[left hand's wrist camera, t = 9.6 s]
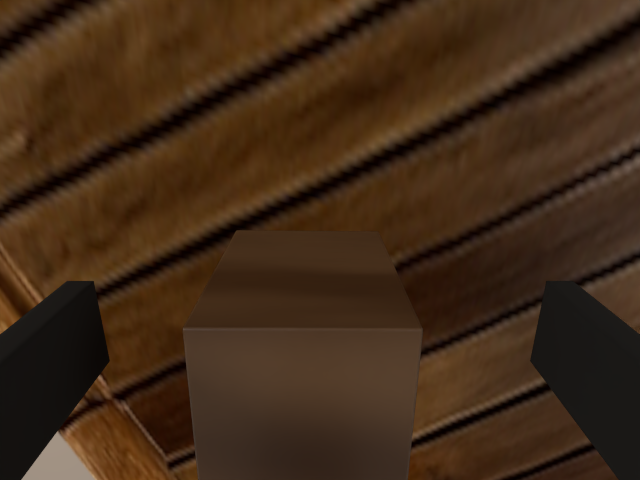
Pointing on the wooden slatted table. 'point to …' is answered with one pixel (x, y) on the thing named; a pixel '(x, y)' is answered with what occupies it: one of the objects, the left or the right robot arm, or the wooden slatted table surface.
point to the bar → (303, 360)
